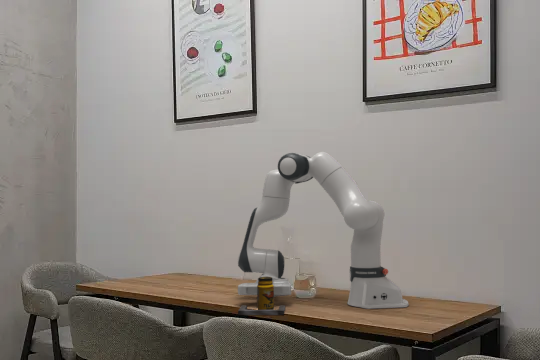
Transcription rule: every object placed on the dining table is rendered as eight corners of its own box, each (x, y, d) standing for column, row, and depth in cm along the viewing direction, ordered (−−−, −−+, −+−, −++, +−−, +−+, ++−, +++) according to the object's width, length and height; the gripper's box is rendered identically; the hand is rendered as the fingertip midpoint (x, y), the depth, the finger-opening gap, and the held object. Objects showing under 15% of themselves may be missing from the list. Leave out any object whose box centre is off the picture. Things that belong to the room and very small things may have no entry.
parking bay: (285, 309, 226) (285, 305, 226) (283, 315, 216) (283, 310, 216) (241, 309, 228) (241, 305, 228) (238, 315, 218) (238, 310, 218)
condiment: (273, 312, 221) (272, 279, 221) (250, 312, 222) (249, 278, 222) (276, 308, 228) (276, 276, 228) (253, 308, 229) (253, 275, 229)
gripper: (239, 278, 243) (234, 284, 229) (292, 278, 241) (290, 283, 227) (239, 294, 242) (234, 301, 229) (292, 294, 241) (290, 301, 227)
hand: (262, 292), depth 228 cm, fingers closed
